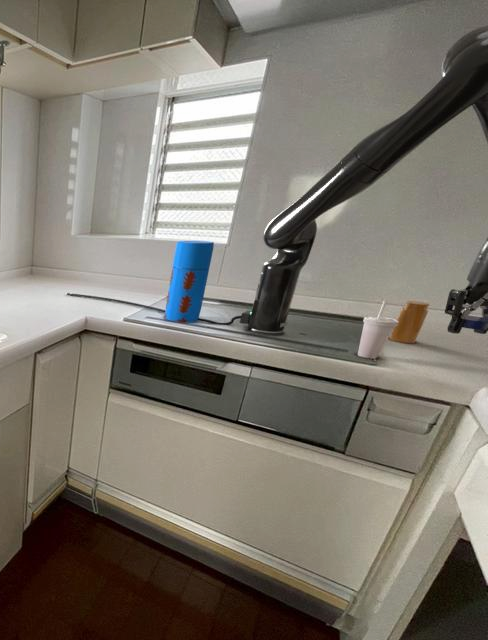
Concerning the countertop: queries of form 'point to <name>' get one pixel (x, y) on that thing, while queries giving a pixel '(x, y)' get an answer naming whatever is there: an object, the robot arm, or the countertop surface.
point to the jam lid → (475, 323)
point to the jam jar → (410, 322)
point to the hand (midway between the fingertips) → (466, 332)
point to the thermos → (188, 280)
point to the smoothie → (375, 334)
